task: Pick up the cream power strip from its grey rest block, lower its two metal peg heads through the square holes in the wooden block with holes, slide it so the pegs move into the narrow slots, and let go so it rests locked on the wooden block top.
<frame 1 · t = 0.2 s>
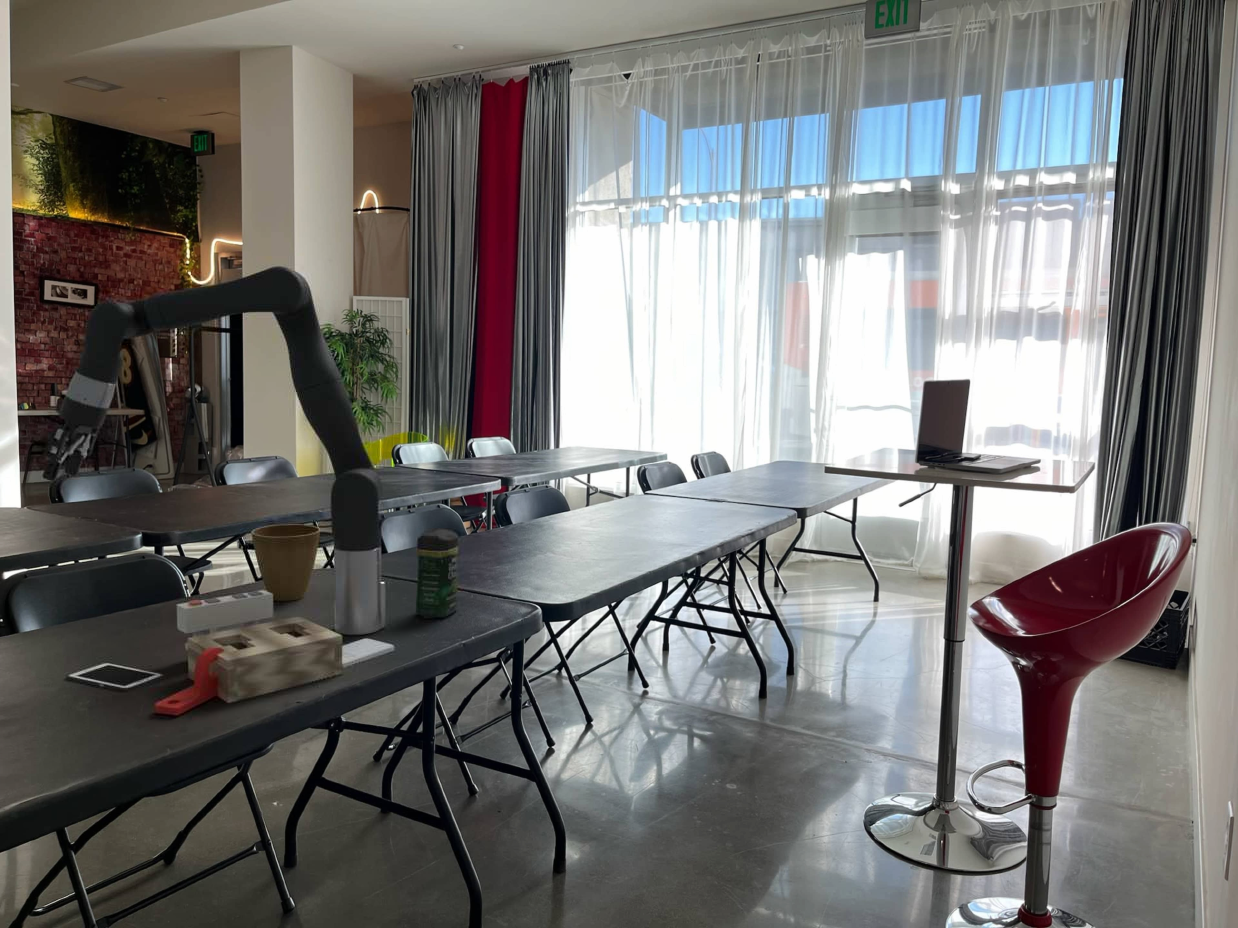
hand: (59, 476, 171), 31 cm above the table, tool tilted 20°, fingers open, 8 cm apart
cell phone: (115, 681, 151), on the table
bracket: (191, 701, 141), on the table, touching wooden block with holes
external hard drive: (354, 658, 166), on the table
plant pot: (287, 598, 205), on the table
coffee jar: (437, 614, 195), on the table
power strip: (227, 643, 164), point 2 cm above the table, touching rest block
rest block: (227, 653, 164), on the table
wooden block with holes: (266, 675, 154), on the table
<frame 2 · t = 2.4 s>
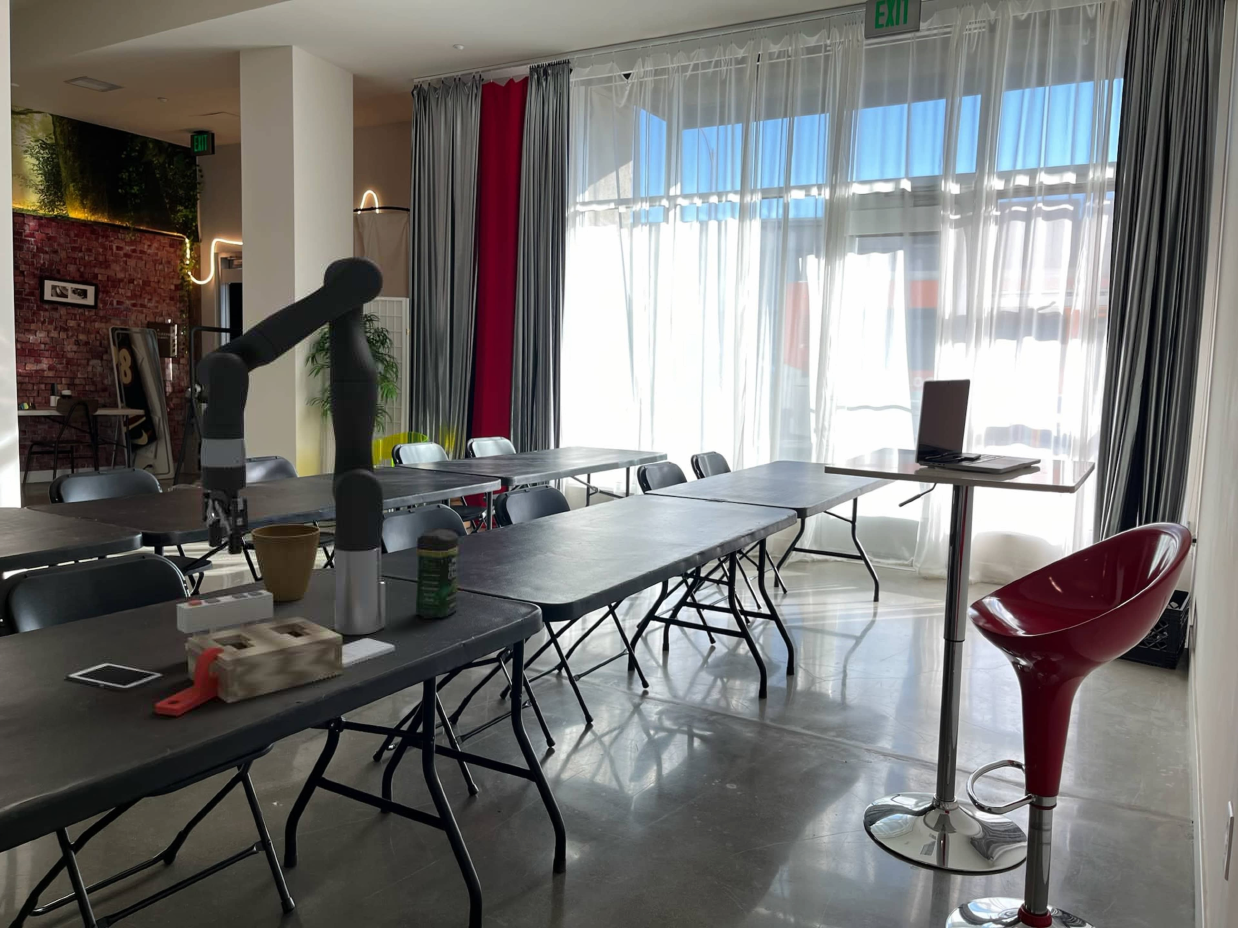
hand: (225, 550, 162), 20 cm above the table, tool pointing down, fingers open, 8 cm apart
nothing on the table moved.
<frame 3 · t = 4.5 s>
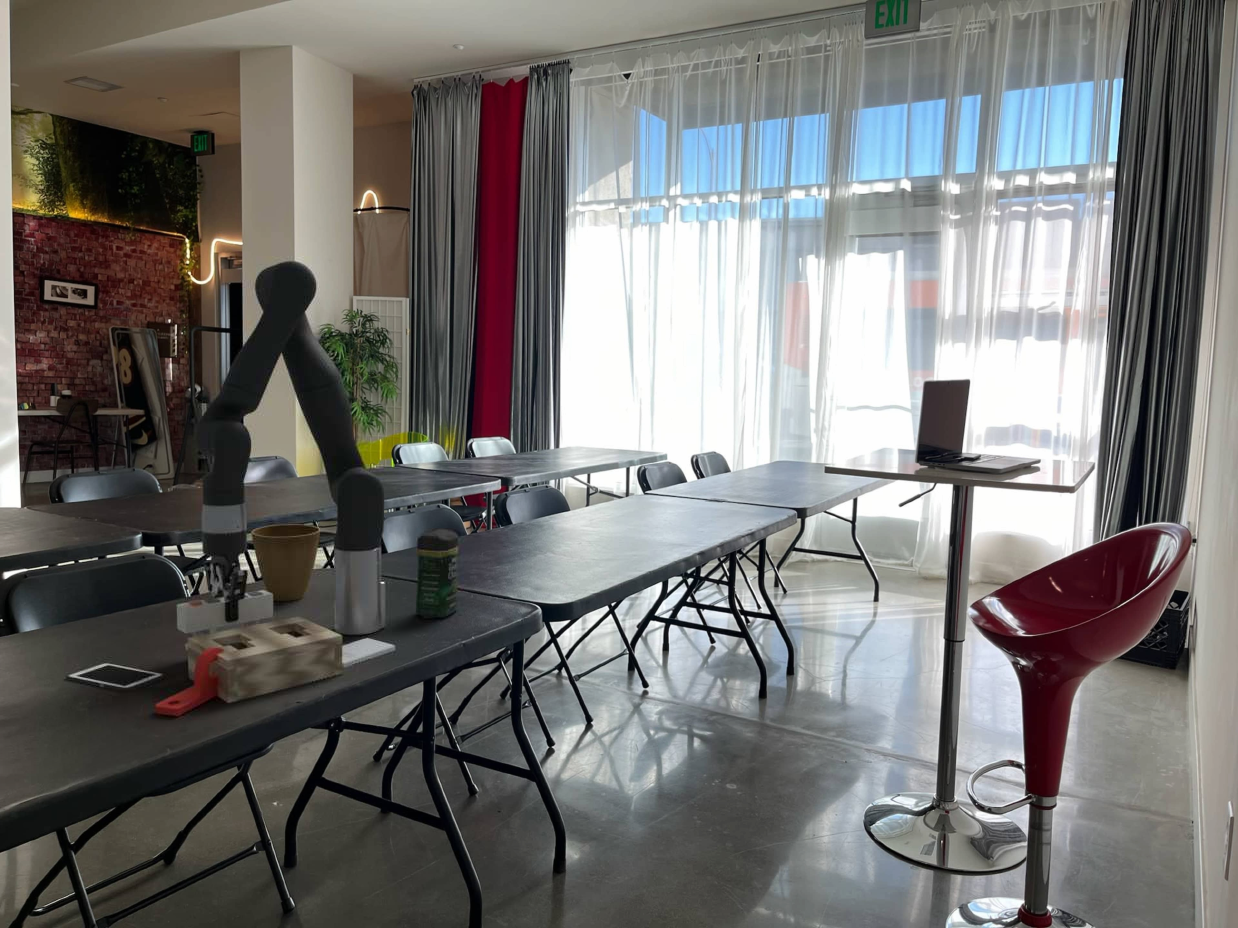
hand: (226, 618, 164), 7 cm above the table, tool pointing down, fingers closed on power strip, 4 cm apart
power strip: (227, 643, 164), point 2 cm above the table, touching gripper, rest block
everything else where it was.
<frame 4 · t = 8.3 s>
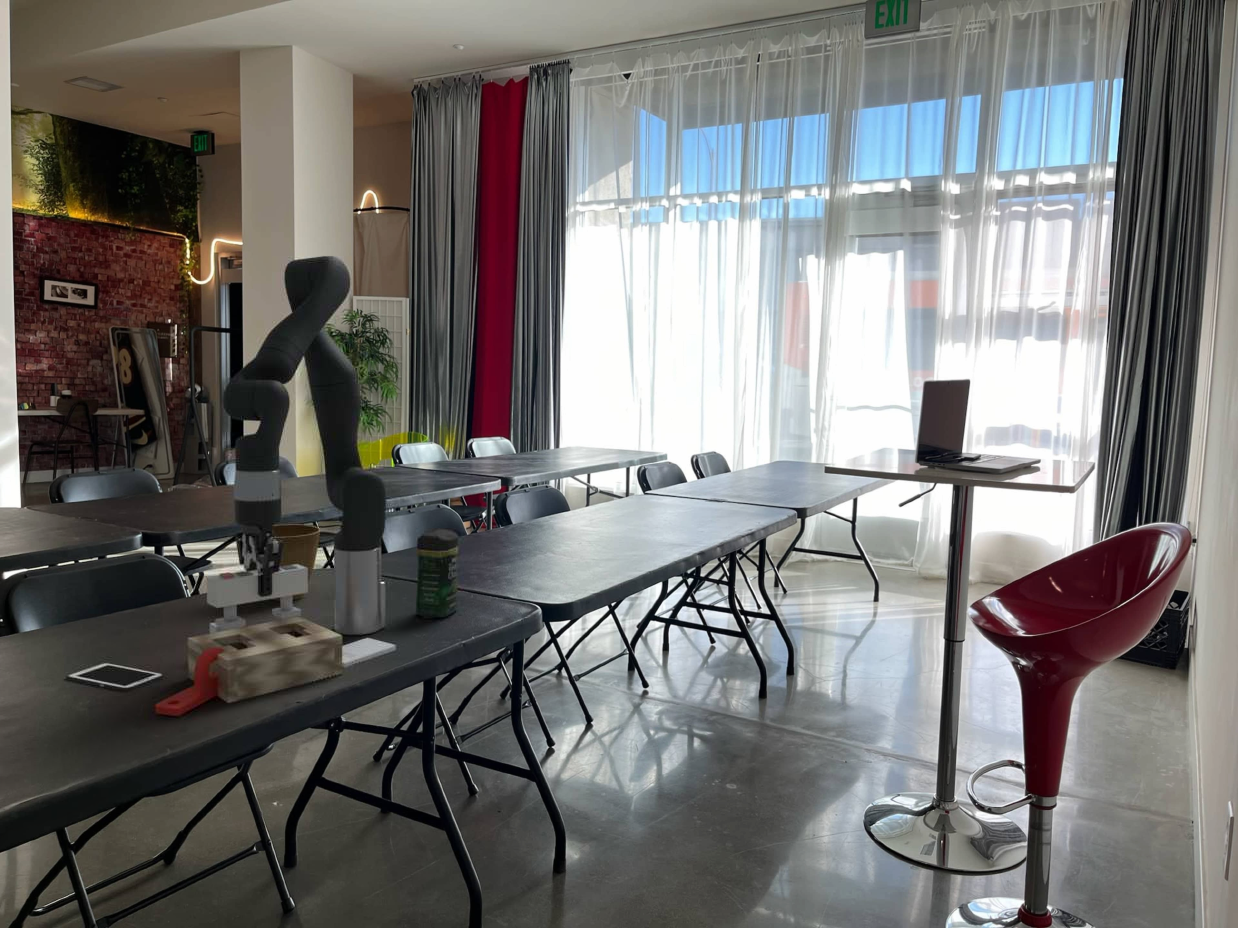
hand: (259, 592, 154), 14 cm above the table, tool pointing down, fingers closed on power strip, 4 cm apart
power strip: (259, 619, 154), point 10 cm above the table, touching gripper
everything else where it was.
when the fingers open (8 cm above the table, at t = 12.1 s): power strip stays where it is, resting on wooden block with holes.
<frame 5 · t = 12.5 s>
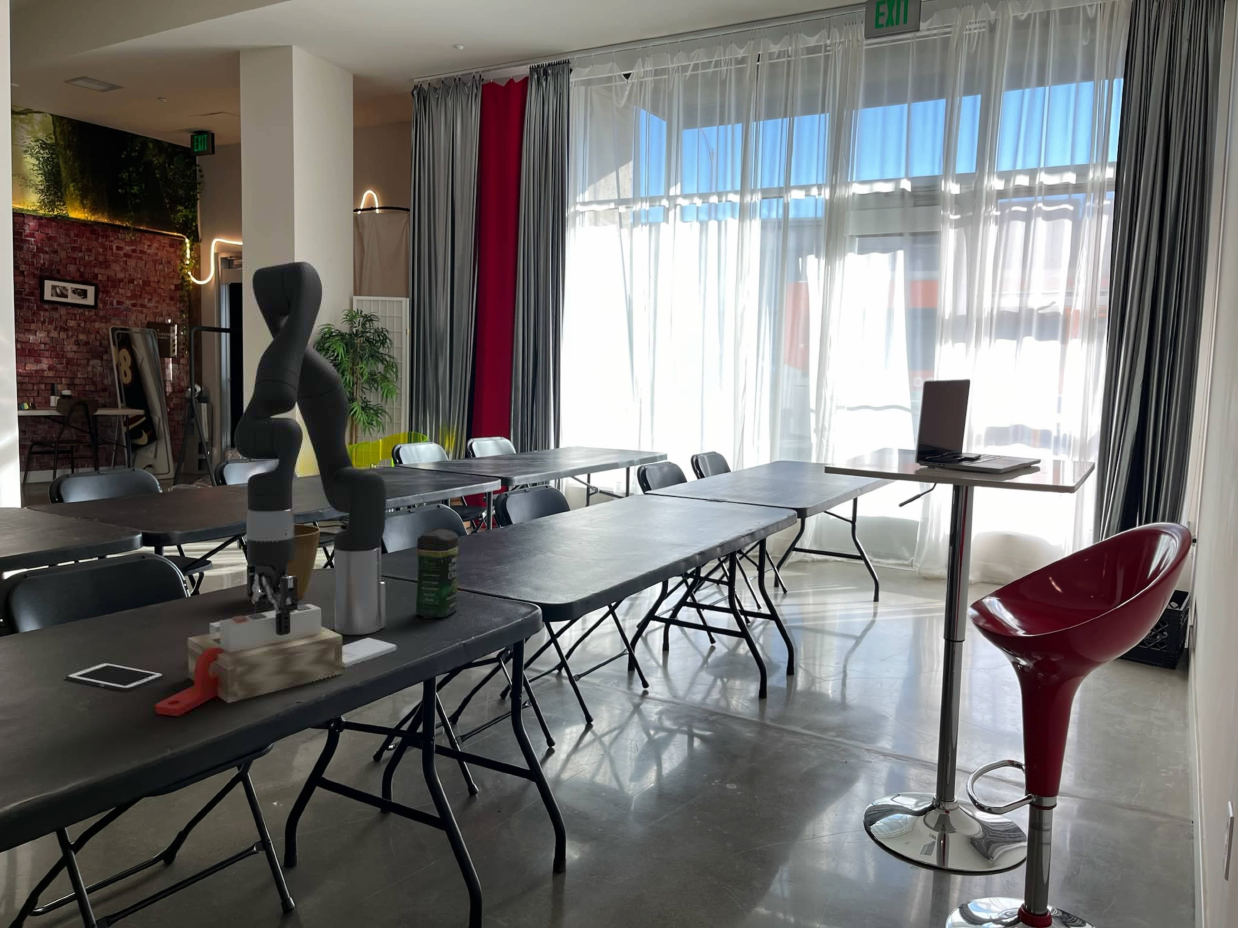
hand: (272, 629, 151), 9 cm above the table, tool pointing down, fingers open, 7 cm apart
power strip: (272, 662, 152), point 3 cm above the table, touching wooden block with holes
everything else where it was.
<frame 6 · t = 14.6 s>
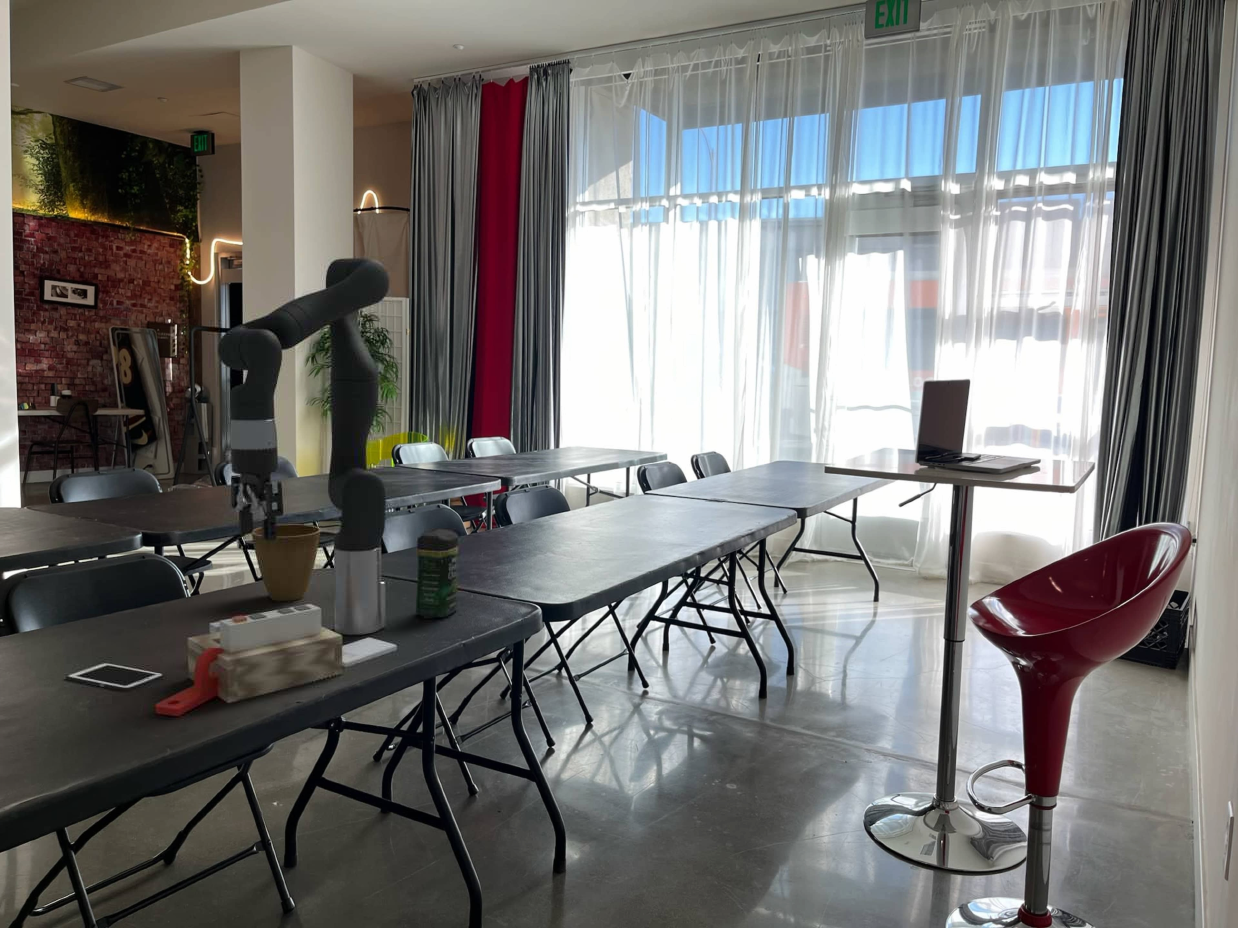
hand: (257, 536, 155), 24 cm above the table, tool pointing down, fingers open, 8 cm apart
nothing on the table moved.
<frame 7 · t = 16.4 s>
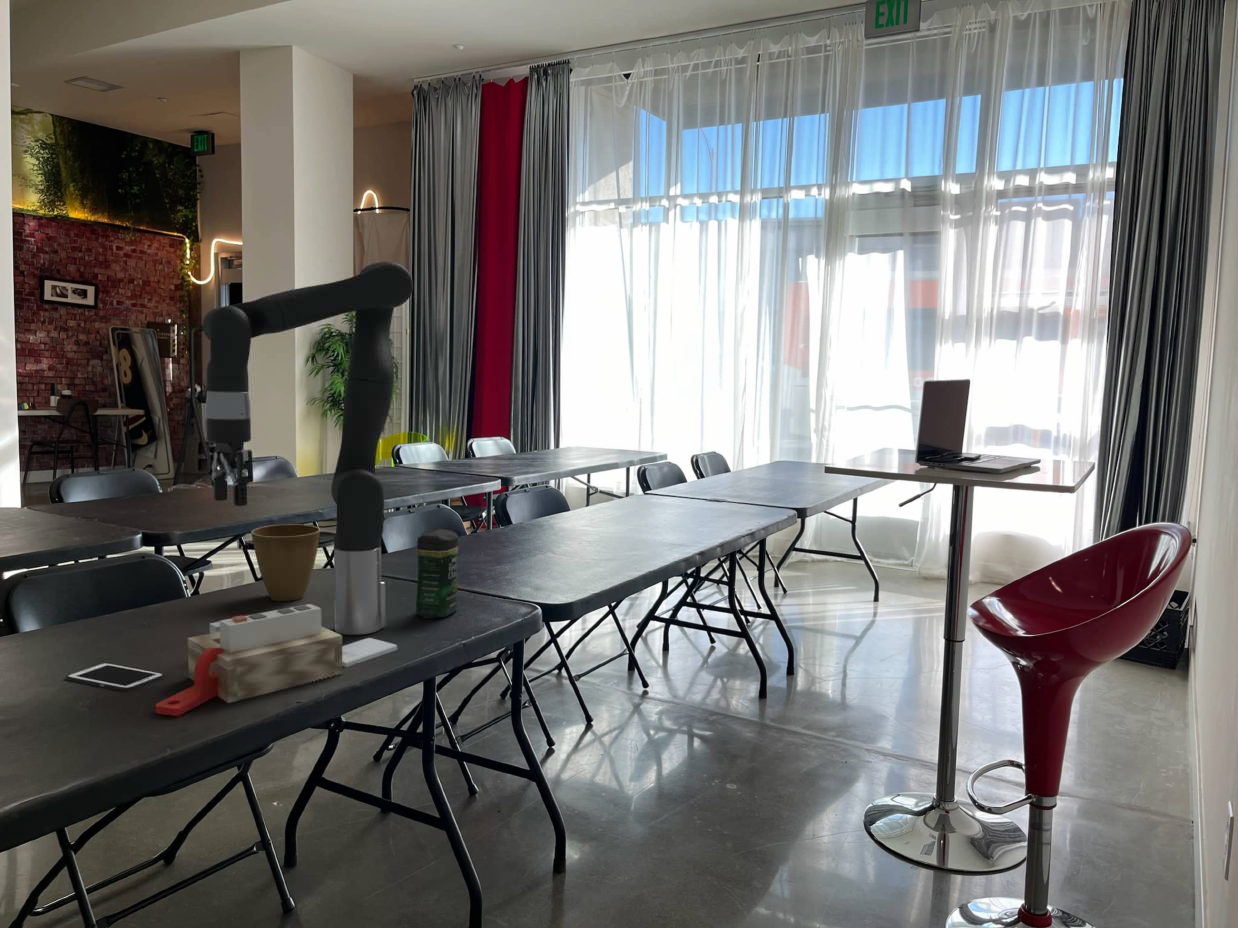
hand: (230, 502, 164), 28 cm above the table, tool pointing down, fingers open, 8 cm apart
nothing on the table moved.
at the end: power strip 0.1 cm from the target spot on the wooden block with holes, point 3.0 cm above the wooden block with holes's base; the gripper is holding nothing; power strip tilted 0° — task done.
